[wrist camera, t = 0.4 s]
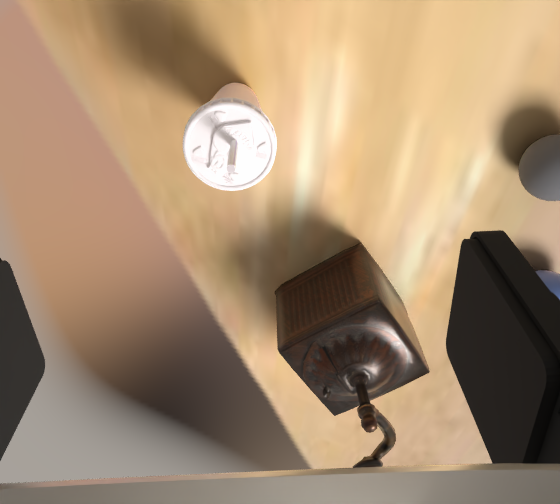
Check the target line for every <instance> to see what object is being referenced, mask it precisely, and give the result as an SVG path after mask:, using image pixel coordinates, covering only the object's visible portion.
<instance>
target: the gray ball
mask: <svg viewBox="0 0 560 504" xmlns="http://www.w3.org/2000/svg"><path fill="white" fill-rule="evenodd" d="M519 177H520V180H521V183H522V185H523V186H524V188H525V189H526V190H527V191H528V192H529V193H530V194H532V195H533V196H535V197H537V198H539V199H542V200H546V201H560V135H559V134H558V135H549V136H546V137H543V138H540V139H538V140H537V141H535V142H534V143H532V144H531V145H530V146H529V147H528V148H527V149H526V150H525V152H524V153H523V155H522V157H521V160H520V163H519Z"/></svg>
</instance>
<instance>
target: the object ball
mask: <svg viewBox="0 0 560 504" xmlns="http://www.w3.org/2000/svg"><path fill="white" fill-rule="evenodd" d="M535 272H536V273H537V274H538V276H539V277H540V278H541V280H542V281H543V282H544V284H545V285H546V286H547V287H548V289H549V290H550V291H551V292H553V293H554V294H555V295H556V296H557V297H558V298H559V300H560V274H558V273H556V272H553V271H548V270H539V271H535Z"/></svg>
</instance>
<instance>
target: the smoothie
mask: <svg viewBox="0 0 560 504" xmlns="http://www.w3.org/2000/svg"><path fill="white" fill-rule="evenodd" d="M276 151H277V138H276V134H275V130H274V127H273V125H272V124H271V122H270V120H269V118H268V117H267V116H266V115H265V114H264V113H263V111H262V109H261V106H260V104H259V101H258V98H257V96H256V94H255V93H254V91H253V90H252V89H251V88H250V87H248V86H246V85H244V84H242V83H230V84H227V85H225V86H223V87H222V88H221V89H220V90H219V91H218V92H217V93H216V94H215V95H214V97H213V98H212V99H211V100H210V101H209V102H207V103H206V104H204V105H202V106H201V107H199V108H198V109H197V110H196V111H195V112H194V113H193V114H192V115H191V117H190V119H189V121H188V123H187V125H186V127H185V132H184V137H183V152H184V156H185V159H186V162H187V164H188V166H189V168H190V169H191V171H192V172H193V173H194V174H195V175H196V176H197V177H198V178H199V179H200V180H201V181H203V182H204V183H206V184H207V185H209V186H212V187H214V188H217V189H221V190H228V191H235V190H242V189H246V188H249V187H251V186H253V185H255V184H257V183H258V182H259V181H261V180H262V179H263V178H264V177H265V176H266V175H267V174H268V172H269V171H270V169H271V167H272V165H273V163H274V160H275V156H276Z"/></svg>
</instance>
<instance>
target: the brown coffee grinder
mask: <svg viewBox="0 0 560 504" xmlns="http://www.w3.org/2000/svg"><path fill="white" fill-rule="evenodd" d="M275 294H276V303H277V342H278V351H279V353H280V354H281V355H282V356H283V358H284V359H285V360H286V361H287V363H288V364H289V365H290V366H291V368H292V369H293V370H294V371H295V372H296V373H297V374H298V376H299V377H300V378H301V379H302V380H303V381H304V382H305V384H306V385H307V386H308V387H309V388H310V390H311V391H312V392H313V393H314V394H315V395H316V396H317V397H318V398H319V399H320V401H321V402H322V403H323V404H324V405H325V406H326V407H327V408H328V409H329V410H330V412H331V413H332V414H333V415H334V416H336V415H338V414H341V413H343V412H346V411H348V410H350V409H353V408H355V407H357V406H359V405H360V406H359V407H358V408H357V411H358V416H359V417H360V418H361V419H362V420H361V426H362V427H363V428H364V430H365V431H366V432H369V433H370V432H374V431H375V430H376V429H377V426H378V427H379V428H380V429H381V431H382V432H383V434H384V436H385V437H384V439H383V441H382V442H381V443H380V444H379V445H378V447H377V448H376V449H375V450H374V452H373V453H372V454H371V456H367V457H364V458H363V459H362V460H361V461H360V462H358V463H357V464H355V465H354V466H353V468H362V467H382V466H383V463H382V462H381V460H380V459H381V458H382V457H383V456H384V455H386V454H387V453H388V452H389V451H390V450H391V448H392V447H393V446H394V444H395V441H396V434H395V430H394V428H393V427H392V425H391V424H390V422H389V421H388V420H387V419H386V418H385V417H384V416H383V415H382V414H381V413H380V412H379V411H378V410H377V409H376V408H375V406H374V405H372V404H370V400H373V399H375V398H377V397H379V396H382V395H384V394H386V393H388V392H390V391H393V390H395V389H397V388H399V387H401V386H403V385H405V384H407V383H409V382H411V381H413V380H415V379H417V378H419V377H421V376H423V375H425V374H427V373H429V372H430V371H429V367H428V365H427V362H426V359H425V357H424V354H423V351H422V349H421V346H420V343H419V341H418V338H417V336H416V333H415V331H414V328H413V326H412V324H411V322H410V319H409V317H408V314H407V311H406V308H405V306H404V304H403V302H402V300H401V298H400V297H399V295H398V294H397V292H396V290H395V289H394V287H393V286H392V284H391V283H390V281H389V280H388V279H387V277H386V276H385V274H384V273H383V271H382V270H381V268H380V267H379V266H378V264H377V263H376V262H375V260H374V259H373V258H372V256H371V255H370V254H369V252H368V251H367V250H366V248H365V247H364V246H363V244H362V243H360V244H358V245H356V246H354V247H351V248H349V249H347V250H345V251H342V252H340V253H339V254H337V255H335V256H333V257H331V258H329V259H328V260H326V261H324V262H322V263H320V264H318V265H316V266H315V267H313V268H311V269H309V270H307V271H305V272H304V273H302V274H300V275H298V276H296V277H294V278H293V279H291V280H289V281H287V282H285V283H284V284H282V285H281V286H280V287H279V288H278V289H277V290H276V291H275Z"/></svg>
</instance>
